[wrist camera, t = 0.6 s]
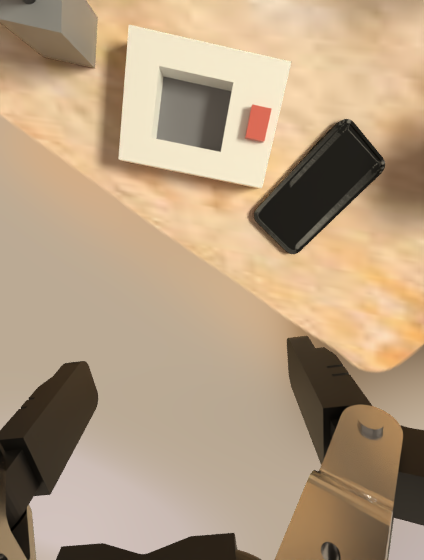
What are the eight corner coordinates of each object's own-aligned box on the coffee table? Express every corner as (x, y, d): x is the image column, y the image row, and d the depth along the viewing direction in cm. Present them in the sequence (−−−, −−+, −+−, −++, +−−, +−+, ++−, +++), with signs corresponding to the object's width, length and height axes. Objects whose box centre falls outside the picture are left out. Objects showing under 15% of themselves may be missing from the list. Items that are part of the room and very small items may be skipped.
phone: (389, 165, 32) (293, 257, 35) (383, 166, 33) (290, 255, 36) (346, 113, 30) (250, 215, 34) (341, 115, 31) (248, 214, 35)
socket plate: (137, 41, 29) (126, 19, 25) (283, 74, 30) (293, 57, 26) (126, 162, 33) (115, 158, 29) (257, 188, 34) (263, 188, 30)
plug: (43, 5, 28) (-31, -77, 20) (97, 17, 28) (47, -58, 20) (43, 57, 30) (-26, 2, 21) (95, 68, 30) (47, 18, 21)
